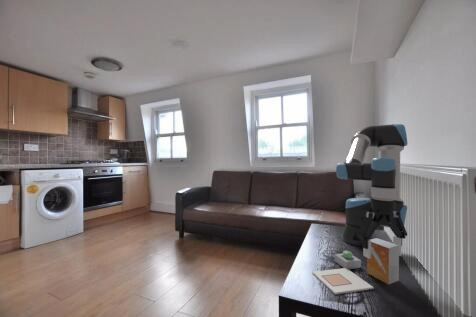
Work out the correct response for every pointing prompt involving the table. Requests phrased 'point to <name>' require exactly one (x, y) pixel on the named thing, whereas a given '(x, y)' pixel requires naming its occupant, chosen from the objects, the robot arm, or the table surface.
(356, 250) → the table surface
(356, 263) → the button box
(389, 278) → the small box
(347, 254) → the button
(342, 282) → the sheet
